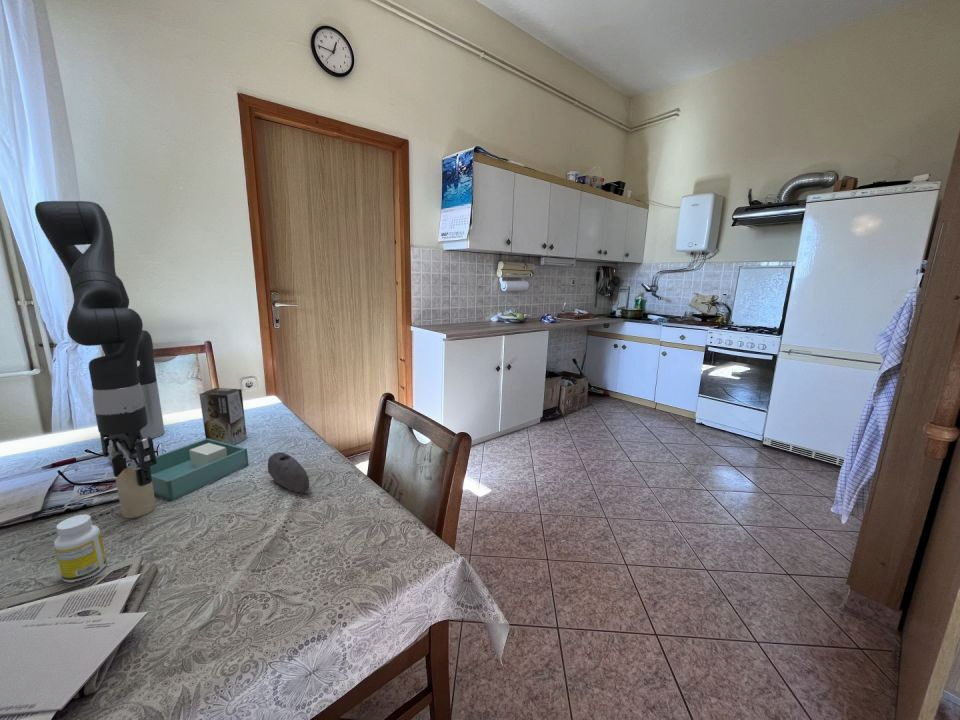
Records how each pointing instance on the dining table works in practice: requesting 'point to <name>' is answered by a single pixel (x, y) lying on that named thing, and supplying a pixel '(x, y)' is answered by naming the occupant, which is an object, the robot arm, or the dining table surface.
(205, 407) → the coffee box
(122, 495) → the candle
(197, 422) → the dining table surface
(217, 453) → the white box
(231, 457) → the tote
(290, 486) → the perforated stone tool
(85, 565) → the supplement bottle
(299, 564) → the dining table surface
